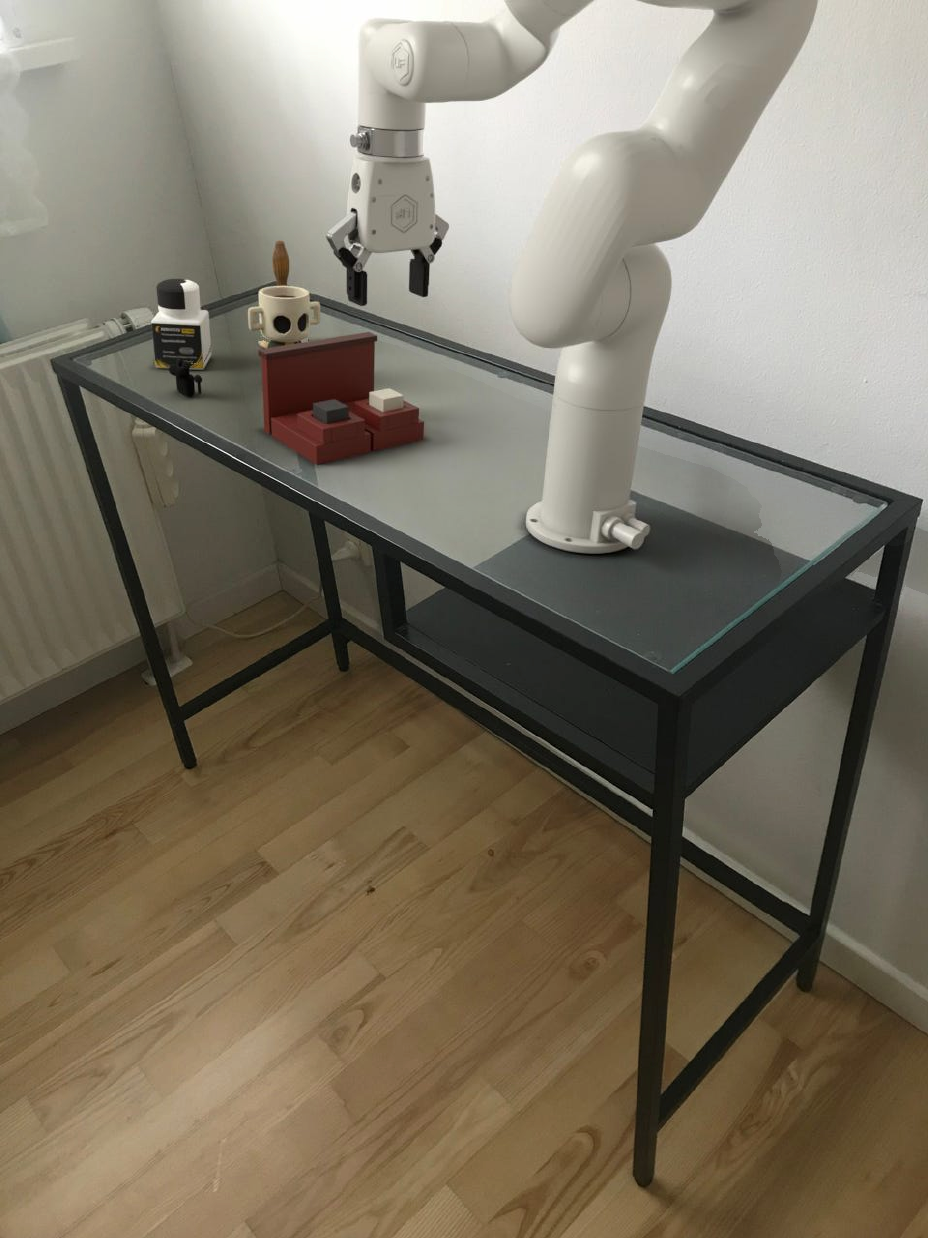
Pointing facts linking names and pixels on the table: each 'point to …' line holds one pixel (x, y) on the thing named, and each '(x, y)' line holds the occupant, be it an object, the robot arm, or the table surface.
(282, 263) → the hand bell
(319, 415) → the ebony key
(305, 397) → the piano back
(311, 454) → the red grey-inset block
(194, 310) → the medicine bottle
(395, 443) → the red white-inset block
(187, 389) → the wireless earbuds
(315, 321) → the character mug
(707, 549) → the table surface
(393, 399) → the ivory key
